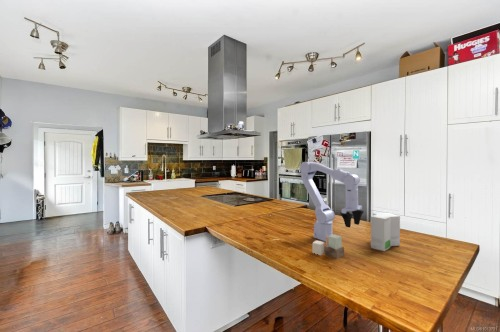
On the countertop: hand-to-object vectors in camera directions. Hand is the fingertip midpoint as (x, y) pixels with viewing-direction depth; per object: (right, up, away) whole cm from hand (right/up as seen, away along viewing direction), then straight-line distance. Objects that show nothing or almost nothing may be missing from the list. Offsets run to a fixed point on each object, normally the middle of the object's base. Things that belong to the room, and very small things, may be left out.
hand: (352, 225), depth 114 cm
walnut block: (-13, -11, -10) cm, 19 cm away
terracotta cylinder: (-11, -11, -1) cm, 16 cm away
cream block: (-19, -11, -7) cm, 23 cm away
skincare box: (+13, -11, -2) cm, 17 cm away
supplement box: (+19, -10, +4) cm, 22 cm away
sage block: (-12, -7, -10) cm, 17 cm away
